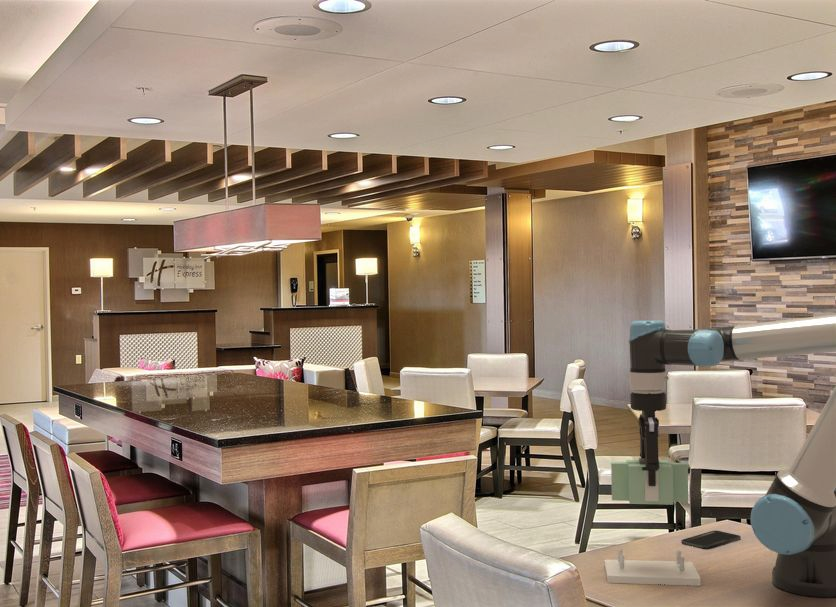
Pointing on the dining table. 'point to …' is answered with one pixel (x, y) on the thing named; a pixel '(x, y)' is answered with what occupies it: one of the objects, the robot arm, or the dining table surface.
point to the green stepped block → (632, 482)
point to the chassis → (651, 571)
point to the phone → (711, 540)
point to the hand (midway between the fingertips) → (649, 496)
